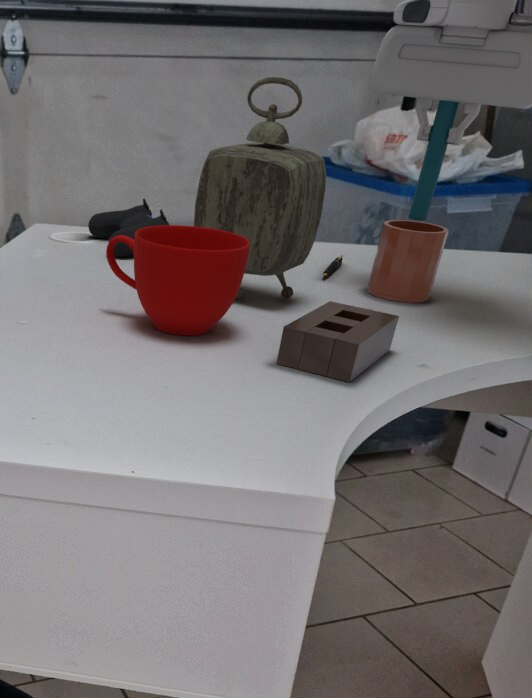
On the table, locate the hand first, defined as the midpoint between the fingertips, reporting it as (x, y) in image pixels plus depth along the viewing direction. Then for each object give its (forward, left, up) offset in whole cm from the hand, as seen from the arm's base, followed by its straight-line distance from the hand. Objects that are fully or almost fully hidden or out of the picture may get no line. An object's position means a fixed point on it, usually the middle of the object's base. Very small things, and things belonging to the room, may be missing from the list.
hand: (437, 142), depth 107 cm
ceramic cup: (+17, +37, -19) cm, 45 cm away
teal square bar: (0, 0, -9) cm, 9 cm away
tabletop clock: (+16, +18, -19) cm, 31 cm away
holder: (-3, +34, -19) cm, 39 cm away
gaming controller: (+42, +5, -19) cm, 46 cm away
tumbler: (0, 0, -19) cm, 19 cm away
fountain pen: (+12, -6, -19) cm, 23 cm away
